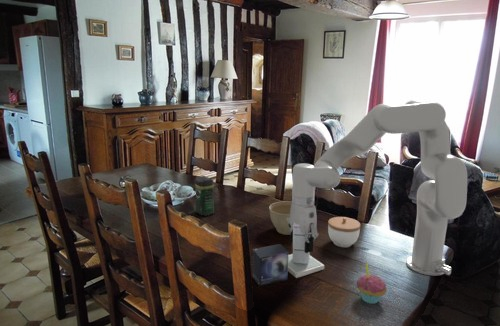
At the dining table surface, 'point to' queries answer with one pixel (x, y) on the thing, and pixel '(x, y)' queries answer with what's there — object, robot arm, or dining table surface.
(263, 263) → the small box
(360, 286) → the cupcake
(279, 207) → the planter bowl
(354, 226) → the lidded bowl
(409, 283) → the dining table surface
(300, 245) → the syrup box
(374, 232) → the dining table surface
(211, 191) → the coffee jar
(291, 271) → the plate
